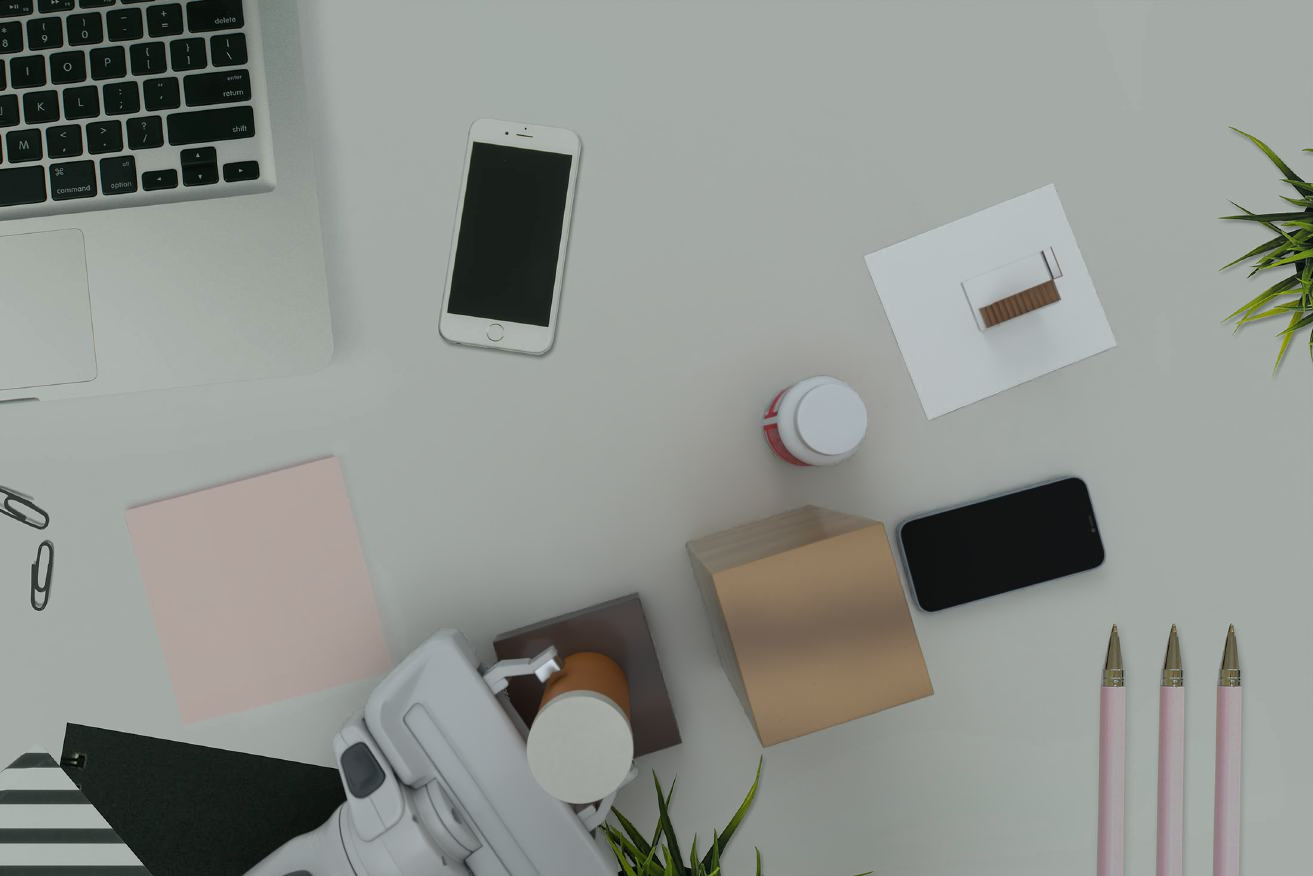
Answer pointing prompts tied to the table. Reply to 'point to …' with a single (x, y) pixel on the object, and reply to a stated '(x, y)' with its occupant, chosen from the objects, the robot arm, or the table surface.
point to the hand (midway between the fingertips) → (596, 708)
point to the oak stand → (809, 620)
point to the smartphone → (1001, 544)
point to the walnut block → (614, 635)
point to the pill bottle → (815, 422)
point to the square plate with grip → (990, 301)
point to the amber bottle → (582, 730)
